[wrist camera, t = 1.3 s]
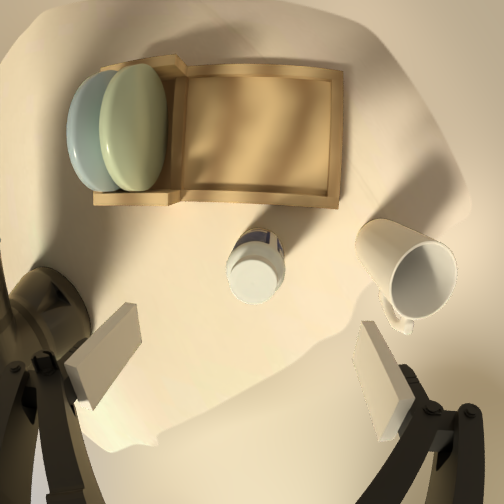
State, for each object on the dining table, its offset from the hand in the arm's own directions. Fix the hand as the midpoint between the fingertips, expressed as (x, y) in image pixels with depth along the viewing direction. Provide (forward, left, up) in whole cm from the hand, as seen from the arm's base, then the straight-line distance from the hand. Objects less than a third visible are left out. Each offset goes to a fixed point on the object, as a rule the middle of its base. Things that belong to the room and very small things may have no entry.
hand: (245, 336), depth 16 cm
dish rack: (-5, +13, -18) cm, 22 cm away
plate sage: (-11, +13, -18) cm, 25 cm away
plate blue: (-15, +13, -17) cm, 26 cm away
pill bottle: (0, 0, -18) cm, 18 cm away
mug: (+14, 0, -18) cm, 23 cm away
